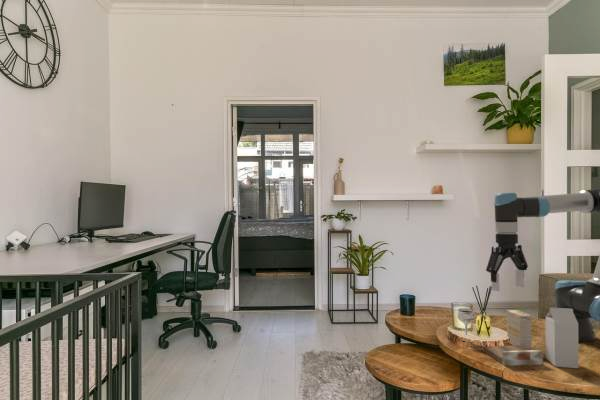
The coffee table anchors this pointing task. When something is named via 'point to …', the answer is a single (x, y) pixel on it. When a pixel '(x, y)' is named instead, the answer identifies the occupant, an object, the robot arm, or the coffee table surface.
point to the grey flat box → (514, 355)
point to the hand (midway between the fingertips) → (508, 288)
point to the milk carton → (562, 338)
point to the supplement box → (519, 329)
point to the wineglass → (466, 316)
